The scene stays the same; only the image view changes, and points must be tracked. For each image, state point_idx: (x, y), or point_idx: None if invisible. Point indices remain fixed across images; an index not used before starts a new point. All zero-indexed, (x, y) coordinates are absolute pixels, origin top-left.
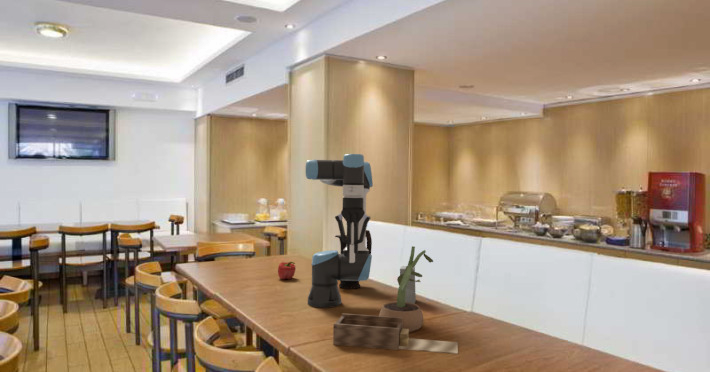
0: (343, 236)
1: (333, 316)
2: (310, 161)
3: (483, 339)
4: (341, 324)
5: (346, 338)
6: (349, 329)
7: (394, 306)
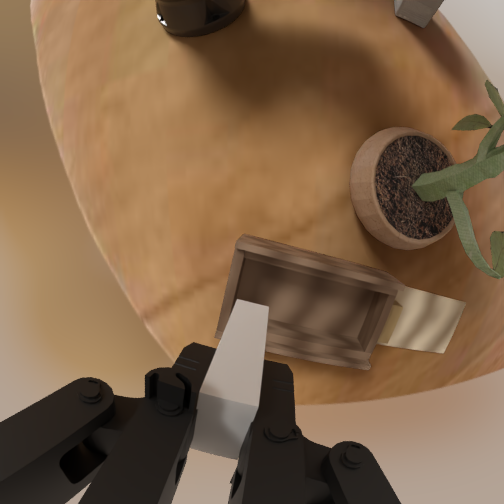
0: (80, 479)
1: (221, 96)
2: None
3: (500, 279)
4: None
5: None
6: None
7: (405, 195)
